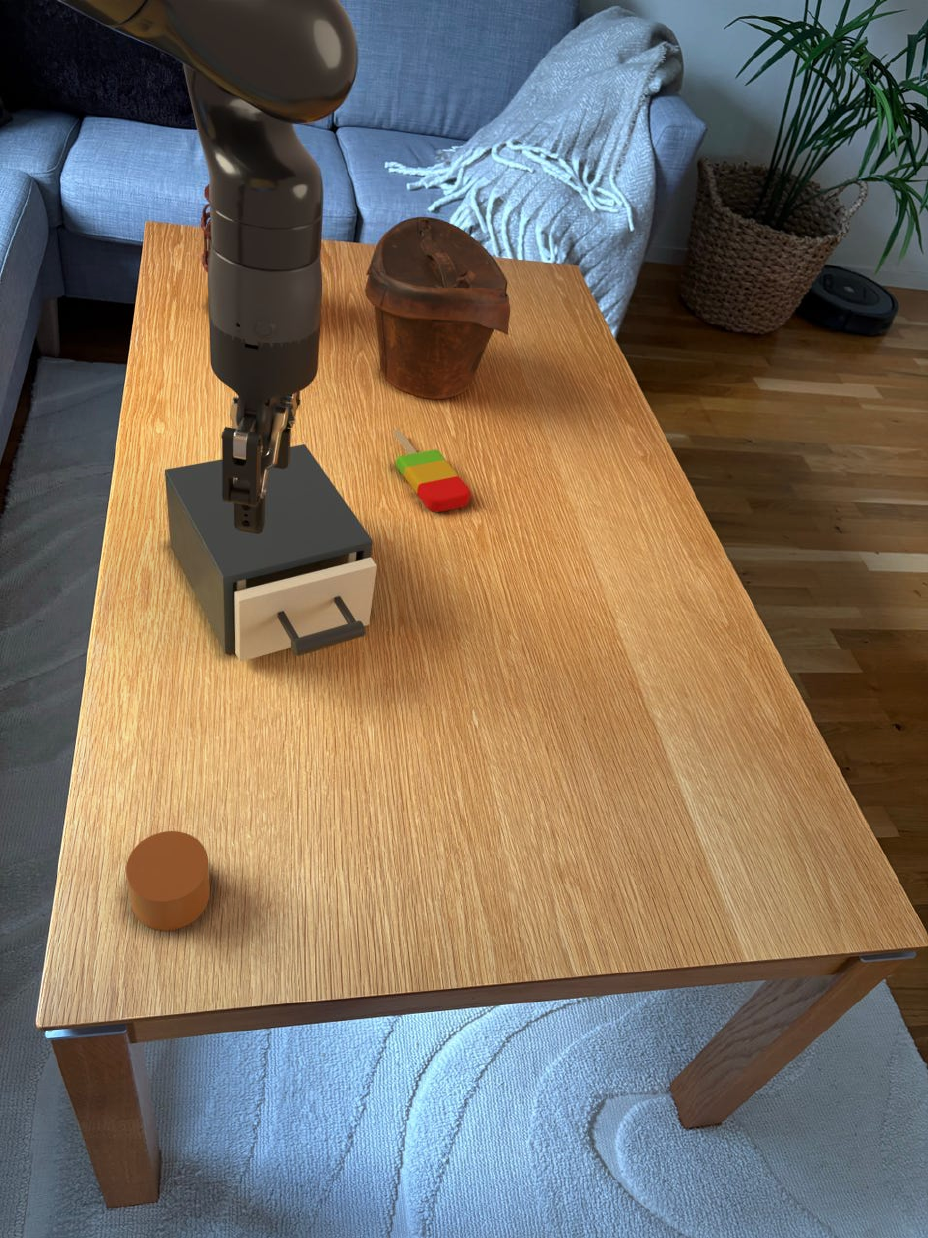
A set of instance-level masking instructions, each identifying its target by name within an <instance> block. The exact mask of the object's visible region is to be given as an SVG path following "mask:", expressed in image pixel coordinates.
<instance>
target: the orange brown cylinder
mask: <svg viewBox="0 0 928 1238" xmlns="http://www.w3.org/2000/svg"><path fill="white" fill-rule="evenodd" d="M209 869H210V868H209V857H208V853H207V850H206V847H204V844H202V842H201V841H200V840H198V839H197V838H196V837H195V836H192V835H191V834H189V833H186V832H184V831H177V830H167V831H161V832H157V833H154V834H151V835H149V836H147V837H146V838H144V839H143V840H141V841H140V842H139V843H137V845H136V846H135V847H134V848H133V850H132V851H131V852H130V854H129V856H128V858H127V861H126V865H125V879H126V883H127V889H128V894H129V895H128V896H129V900H130V905H131V909H132V911H133V914H134V915H135V917H136V918H137V920H139V922H141V923H142V924H143V925H144V926H146V927H148V928H150V929H153V930H157V931H174V930H178V929H182V928H185V927H186V926H188V925H190V924H191V923H194V921H195V920H197V919H198V918H199V917H200V916H201V915H202V913H203V912H204V911H205V909H206V908H207V906H208V903H209V901H210V896H211V886H210V884H211V883H210V870H209Z"/></svg>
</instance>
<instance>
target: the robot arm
mask: <svg viewBox="0 0 928 1238" xmlns="http://www.w3.org/2000/svg"><path fill="white" fill-rule="evenodd" d="M57 2H60V3H61V4H63V5H65V6H67V7H69V8H71V9H72V10H74V11H76V12H78V13H80V14H82V15H84V16H85V17H88V18H89V19H92V20H94V21H95V22H97V23H99V24H101V25H103V26H105V27H107V28H108V29H111V30H112V31H115V32H117V33H119V34H122V35H124V36H126V37H128V38H132V39H134V40H136V41H139V42H141V43H143V44H145V45H148V46H150V47H153V48H154V49H157V50H159V51H161V52H164V54H168V55H169V56H171V57H172V58H174V59H176V60H177V61H179V62H181V63H182V67H183V71H184V76H185V81H186V86H187V89H188V94H189V99H190V103H191V108H192V112H193V116H194V121H195V126H196V130H197V134H198V138H199V142H200V145H201V149H202V152H203V155H204V159H205V162H206V163H205V164H206V166H207V170H208V177H209V179H208V180H209V181H208V182H209V183H208V184H209V200H210V206H209V212H210V218H209V219H210V233H211V243H210V258H209V266H208V273H207V296H208V300H207V301H208V326H209V327H208V328H209V353H210V354H209V357H210V358H209V359H210V366H211V370H212V372H213V374H214V375H215V377H216V378H217V379H218V380H219V381H220V382H221V383H223V384H224V385H225V386H227V387H228V388H230V389H231V390H232V391H233V392H234V393H235V394H236V395H237V396H233V397H232V400H231V405H230V412H229V418H230V420H231V427H228V426H225V427H224V428H223V430H222V432H221V459H222V499H223V501H225V502H233V503H234V526H235V528H236V529H237V530H239V531H244V532H250V533H255V534H260V533H261V532H262V531H263V528H264V526H265V495H266V492H267V488H266V485H267V478H268V472H269V469H270V468H273V467H274V468H280V469H286V468H287V467H288V464H289V462H290V447H291V441H292V440H291V439H292V438H291V437H292V434H291V433H292V429H293V427H294V425H295V423H296V414H297V411H298V408H299V407H300V405H301V398H300V396H301V395H300V393H301V391H303V390H304V389H306V388H307V387H309V386H310V385H311V384H312V383H313V382H314V380H315V379H316V377H317V374H318V370H319V353H320V337H321V322H322V321H321V320H322V319H321V318H322V304H323V303H322V301H323V273H322V261H321V256H322V253H321V251H322V235H323V221H324V219H323V218H324V217H323V216H324V179H323V174H322V171H321V168H320V166H319V164H318V163H317V161H316V160H315V158H313V156H312V155H311V153H310V152H309V151H308V150H307V148H306V147H305V146H304V145H303V143H302V142H301V140H300V139H299V137H298V135H297V132H296V130H295V127H294V125H306V124H307V125H308V124H312V123H315V122H319V121H321V120H324V119H326V118H327V117H329V116H331V115H332V114H334V113H335V112H337V111H338V110H339V109H340V108H341V106H342V105H343V104H344V103H345V102H346V100H347V99H348V98H349V96H350V94H351V92H352V90H353V88H354V86H355V83H356V79H357V76H358V70H359V59H360V58H359V47H358V39H357V35H356V32H355V29H354V26H353V23H352V21H351V18H350V16H349V14H348V13H347V10H346V9H345V7H344V6H343V4H342V3H341V2H340V0H57ZM261 452H262V456H261Z"/></svg>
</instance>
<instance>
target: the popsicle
mask: <svg viewBox="0 0 928 1238" xmlns="http://www.w3.org/2000/svg"><path fill="white" fill-rule="evenodd" d="M392 435H393V436H394V437H395V439H396V440H397V441H398V442H399V443H400V445H401V447H403V449H404V450H405V451H406V453H407V454H404V455H399V456H397V457H396V458H395V459H396V460H395V467H396V468H397V470H398V471H399V472H400V474H402V476H403V477H404V479H405V480H406V481H407V483H408V484H409V486H410V487H411V488H412V490H413V491H414V492H415V493H416V495H417V496H418V498H419V499H420V500H421V502H422V503H423V504H424V505H425V507H426V508H427V509H428V510H429V511H432V512H435V513H440V512H445V511H451V510H455V509H460V508H463V507H466V506H467V505H468V504H469V502H470V498H471V490H470V488H469V487H468V486H467V484H466V483H465V482H464V480H463V478H461V477H460V476H459V474H458V473H457V472H456V471H455V469H454V468H453V467H452V465H450V463H449V462H448V460H447V459H446V458H445V457H444V456H443V454H442V453H441V452H440V451H439V450H438V449H437V448H436V449H431V450H425V451H420V452H418V451H417V450H416V449H415V448H414V447H413V445H412V444H411V443H410V441H409V440H408V439H407V438H406V436H405V435H404V434H403V432H402V431H401V430H399V429H394V430H392Z"/></svg>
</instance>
